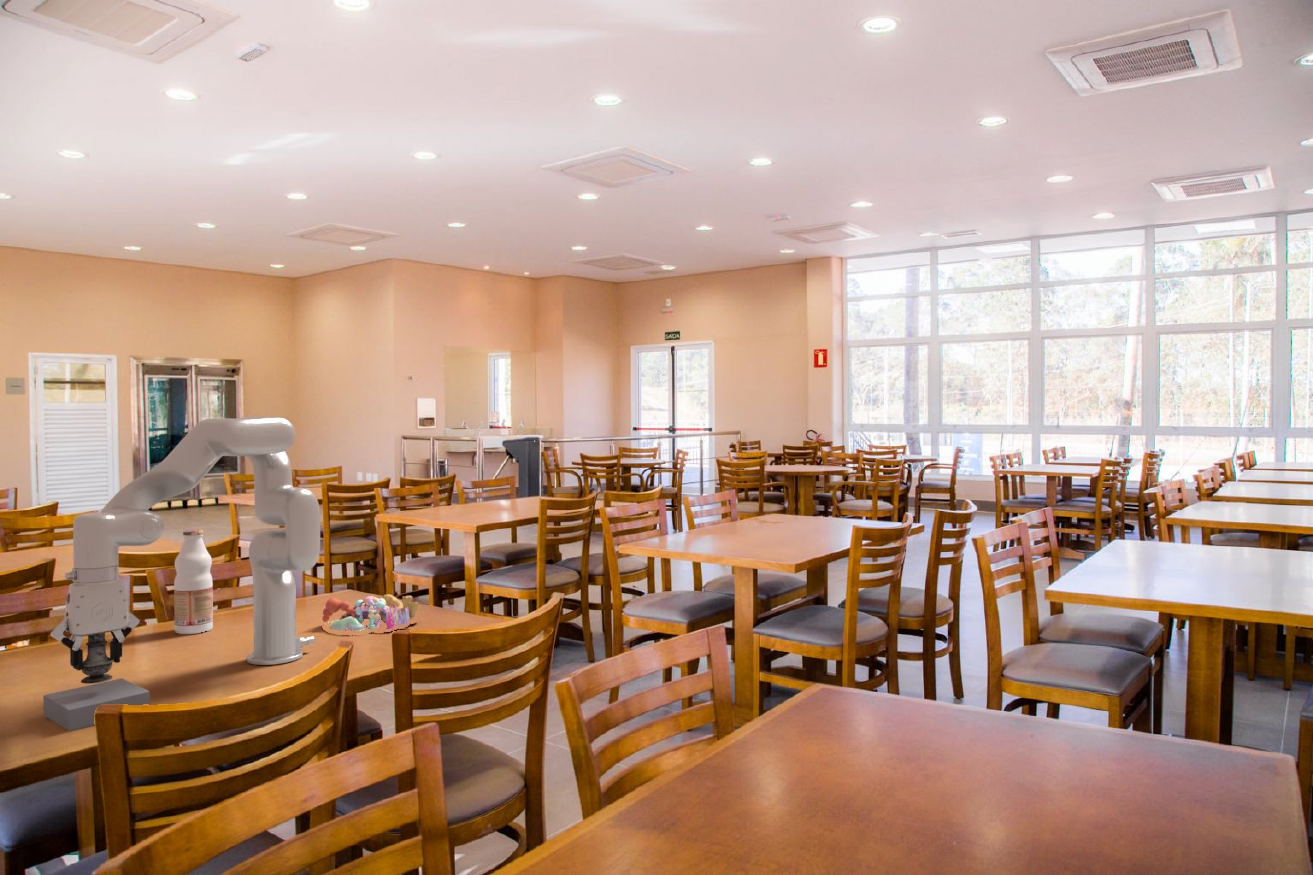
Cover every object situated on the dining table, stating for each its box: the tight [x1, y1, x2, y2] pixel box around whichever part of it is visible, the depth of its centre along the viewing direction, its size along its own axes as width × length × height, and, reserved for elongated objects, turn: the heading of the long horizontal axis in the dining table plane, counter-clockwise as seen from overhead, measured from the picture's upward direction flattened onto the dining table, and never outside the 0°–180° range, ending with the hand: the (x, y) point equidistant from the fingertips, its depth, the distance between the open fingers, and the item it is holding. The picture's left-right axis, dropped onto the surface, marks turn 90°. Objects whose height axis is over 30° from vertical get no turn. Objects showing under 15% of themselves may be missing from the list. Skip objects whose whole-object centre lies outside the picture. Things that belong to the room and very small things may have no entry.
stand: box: [43, 678, 151, 732], centre depth 169 cm, size 14×14×4 cm
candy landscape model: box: [322, 594, 419, 631], centre depth 242 cm, size 25×24×9 cm
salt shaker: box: [80, 632, 114, 685], centre depth 169 cm, size 6×6×12 cm
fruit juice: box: [173, 529, 214, 635], centre depth 235 cm, size 9×9×28 cm
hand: (96, 664), depth 169 cm, fingers closed on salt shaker, 5 cm apart
